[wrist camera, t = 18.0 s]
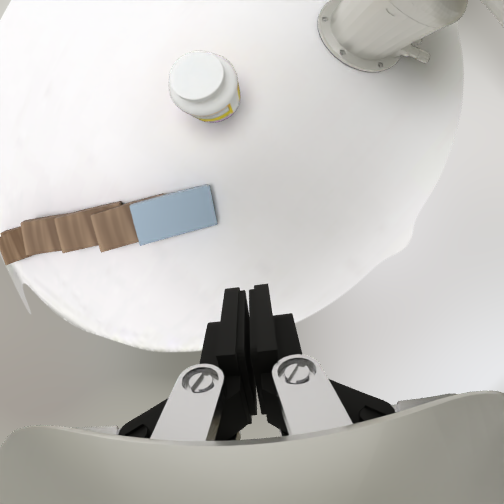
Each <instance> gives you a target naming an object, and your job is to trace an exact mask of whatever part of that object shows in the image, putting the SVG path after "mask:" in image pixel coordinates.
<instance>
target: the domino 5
mask: <svg viewBox="0 0 504 504" xmlns="http://www.w3.org/2000/svg"><path fill="white" fill-rule="evenodd" d="M130 210H131V214H132V218H133V222H134V226H135V229H136V233H137V237H138V240H139V244H140V246H141V245H145V244H148V243H151V242H155V241H158V240H162V239H166V238H169V237H173V236H176V235H180V234H184V233H187V232H191V231H195V230H198V229H202V228H206V227H209V226H213V225H217V220H216V215H215V210H214V205H213V200H212V195H211V190H210V185H202V186H198V187H194V188H190V189H186V190H182V191H178V192H174V193H170V194H166V195H162V196H158V197H155V198H151V199H147V200H144V201H140V202H137V203H133V204H130Z"/></svg>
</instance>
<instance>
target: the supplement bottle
mask: <svg viewBox="0 0 504 504" xmlns="http://www.w3.org/2000/svg"><path fill="white" fill-rule="evenodd" d="M169 92H170V96H171V98H172V100H173V102H174V103H175V105H176V106H177V107H178V108H180V109H181V110H182V111H184V112H186V113H188V114H190V115H192V116H194V117H196V118H197V119H199V120H202V121H205V122H219V121H222V120H225V119H227V118H228V117H230V116H231V115H232V114H233V113H234V112H235V111H236V109H237V107H238V105H239V102H240V89H239V84H238V78H237V74H236V71H235V69H234V67H233V65H232V64H231V63H230V62H229V61H228V60H227V59H225V58H224V57H222V56H220V55H217V54H214V53H210V52H206V51H192V52H189V53H186V54H184V55H183V56H181V57H180V58H179V59H178V60H177V61H176V62H175V63H174V64H173V66H172V68H171V70H170V74H169Z"/></svg>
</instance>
